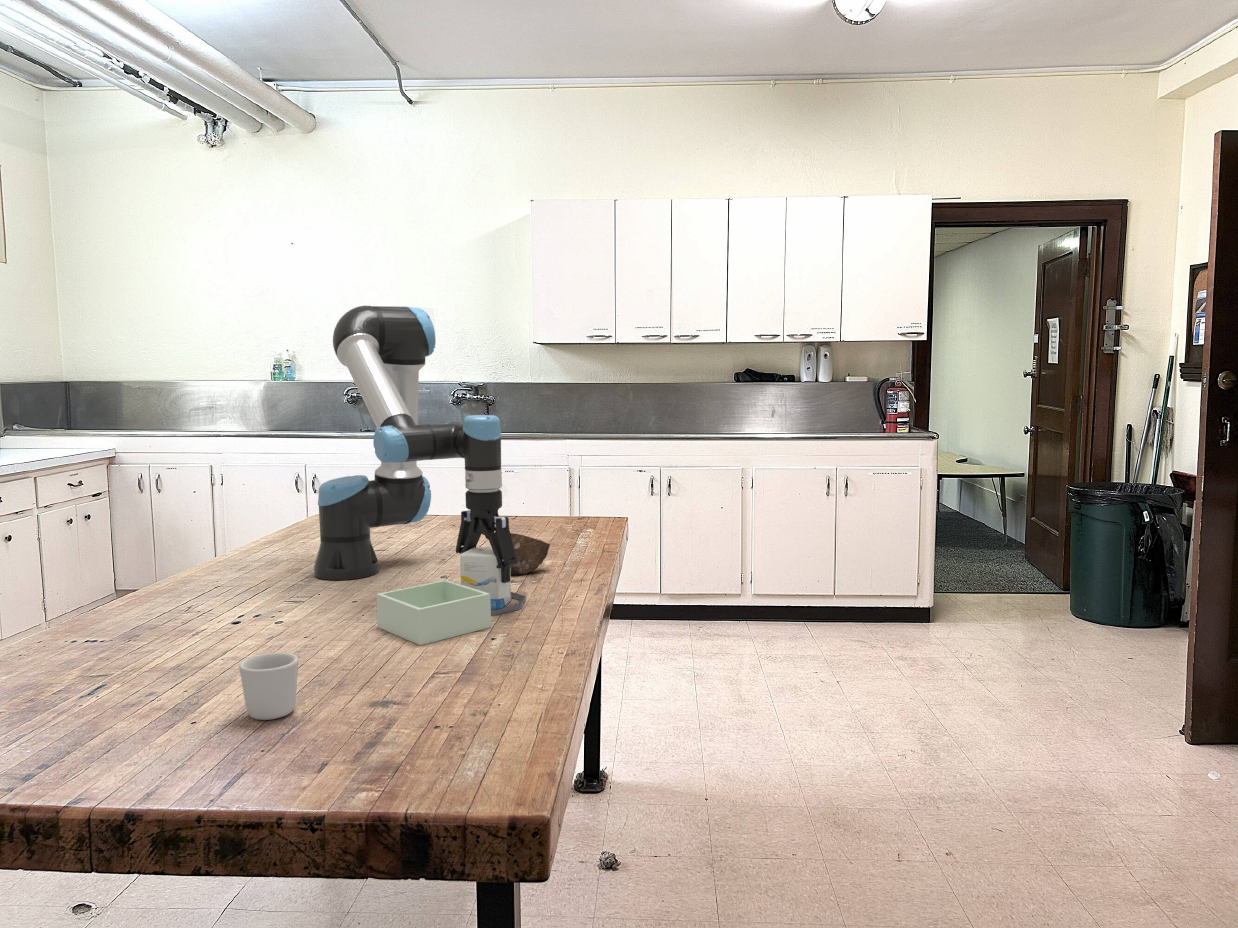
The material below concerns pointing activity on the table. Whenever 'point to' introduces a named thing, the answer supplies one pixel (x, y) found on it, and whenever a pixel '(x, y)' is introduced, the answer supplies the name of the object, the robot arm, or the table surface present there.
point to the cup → (269, 684)
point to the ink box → (482, 573)
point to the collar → (512, 607)
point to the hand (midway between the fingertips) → (486, 592)
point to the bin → (433, 611)
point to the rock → (527, 553)
